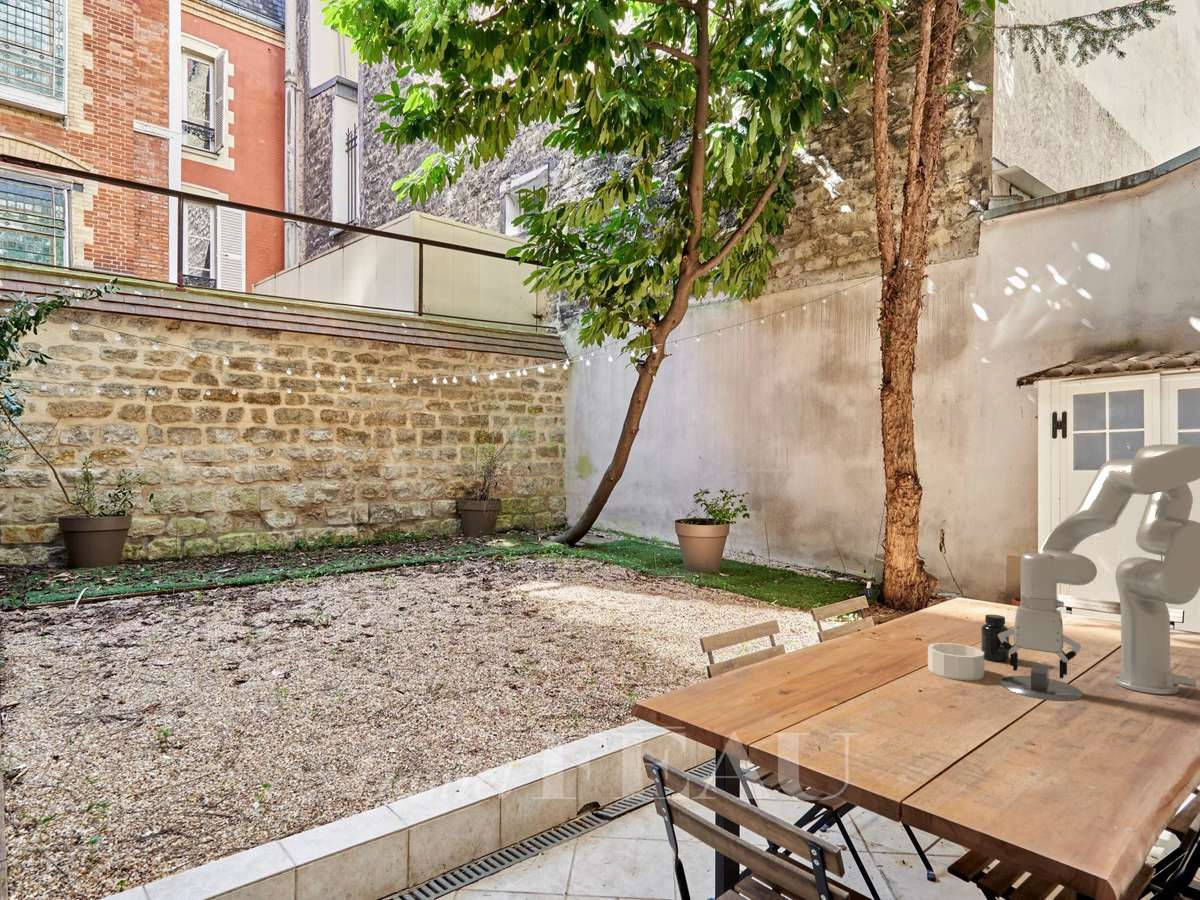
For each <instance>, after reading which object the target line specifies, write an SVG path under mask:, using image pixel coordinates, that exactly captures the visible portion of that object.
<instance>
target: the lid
mask: <svg viewBox="0 0 1200 900" xmlns="http://www.w3.org/2000/svg"><path fill="white" fill-rule="evenodd" d="M1049 672H1050V667H1049V665H1048V664H1041V663H1033V664H1032V667H1031V670H1030V675H1010V676H1005V677H1003V678H1001V679H1000V681H999V682H1000V683H999V684H1000V685H1001V687H1002V688H1004V689H1005V690H1007V691H1009V692H1011V693H1014V694H1017V695H1020V696H1023V697H1028V698H1032V699H1036V700H1037V699H1039V700H1042V701H1043V700H1045V701H1054V702H1055V701H1056V702H1057V701H1058V702H1066V701H1076V700H1079V699H1081V698H1082V697H1083V692H1082V690H1081V689H1079V688H1078V687H1077V686H1074V685H1072V684H1069V683H1067V682H1064V681H1060V680H1056V679H1051V678H1050V673H1049Z"/></svg>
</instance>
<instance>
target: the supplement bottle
mask: <svg viewBox="0 0 1200 900" xmlns="http://www.w3.org/2000/svg"><path fill="white" fill-rule="evenodd" d="M984 618H985V619H984V624H983V625H982V626H981V628H980V629H981V632H980V634H981V638H980V639H981V641H980V643H981V645H980V646H981V649H980V650H981V651H983V652H985V661H986V660H987V661H990V662H995V663H1004V662H1005V663H1006V662H1008V661H1009V660H1010V653H1009V651H1008V650H1007V649H1006V648H1005V647H1004V646H1003V645H1002V643H1001V641H1000V639H999V637H998V634H999V633H1001V632H1004V631H1007V630H1009V628H1008V627H1007V626H1006V625H1005V624H1006V618H1005V616H1002V615H999V614H986V615H985V617H984ZM1006 640H1007V641H1008V642H1009V643H1010V636H1008V637H1006Z"/></svg>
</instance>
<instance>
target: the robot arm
mask: <svg viewBox="0 0 1200 900" xmlns="http://www.w3.org/2000/svg"><path fill="white" fill-rule="evenodd" d="M1198 480H1200V446H1199V445H1196V444H1191V443H1190V444H1187V443H1184V444H1183V443H1182V444H1178V443H1177V444H1175V443H1173V444H1172V443H1171V444H1170V443H1169V444H1167V443H1165V444H1162V443H1161V444H1150V445H1149V444H1148V445H1145V446H1143V447H1141V448H1139V449H1138V450H1137V452H1136V453H1135V455H1134V458H1117V459H1116V458H1113V459H1110V460H1107V461H1105V462H1104V463H1103V464H1102V465H1101V466H1100V468H1099V469H1098V471H1097V472H1096V475H1095V476H1094V479H1093V480H1092V482H1091V483H1090V486H1089V487H1088V489H1087V492H1086V493H1085V495H1084V497H1083V499H1082V501H1081V502H1080V505H1079V506H1078V507H1077V509H1076V510H1075V511H1074V512H1072V513H1071V514H1069V515H1068V516H1067V517H1065V518H1064V519H1063V520H1062V521H1061V522H1060V523H1059V524H1058V525H1056V526H1055V527H1054V528H1053V529H1052V530H1051V531H1050V532H1049V533H1048V534H1047V537H1046V539H1045V540H1044V542H1043V544H1042V546H1041V548H1040V550H1039V551H1038V552H1025V553H1023V554H1022V555H1021V557H1020V605H1017V608H1016V611H1015V616H1014V617H1015V618H1014V628H1010V629H1008V630H1007V631H1004V632H1001V633H999V634H998V637H999V639H1000V641H1001V643H1002V645H1003V646H1004V647H1005V648H1006V649H1007V650H1008V651H1009V660H1010V661H1009V664H1010V666H1011V667H1012V669H1013V670H1012V671H1015V672H1016V671H1017V670H1018V668H1019V663H1018V662H1019V657H1018V656H1019V655H1018V654H1019V653H1018V652H1017V651H1019V650H1020V649H1025V650H1030V651H1036V652H1037V651H1038V652H1045V653H1053V654H1056V656H1057V657H1059V658H1060V659H1059V678H1060V679H1063V680H1064V675H1066V676H1067V674H1068V662H1069V661H1071V660H1072V659H1074V658H1075V657H1076V655H1077V654H1078V653H1079V652H1080V650H1081V648H1082V644H1080V643H1079V642H1077V641H1075V640H1073V639H1071V638H1070V637H1068V636H1066V634H1064V626H1063V625H1064V624H1063V618H1062V613H1061V610H1059V609H1058V608H1064V607H1065V606H1064V604H1065V602H1064V601H1060V600H1059V599H1058V595H1057V594H1058V590H1057V589H1058V585H1057V584H1062V585H1063V584H1064V585H1071V586H1085V585H1089V584H1090V583H1091V582H1094V580H1095V579H1096V577H1097V574H1098V568H1097V565H1096V564H1095V563H1094V562H1093V560H1092V559H1090V558H1089V557H1087V556H1084V555H1082V554H1077V553H1074V550H1075V548H1076V547H1078V545H1079V544H1080V543H1082V542H1083V541H1084V540H1086V539H1087V538H1089V537H1091V536H1093V535H1097V534H1100V533H1103V532H1105V531H1108V530H1110V529H1113V528H1114V527H1115V526H1117V524H1118V523H1119V520H1120V518H1121V517H1122V515H1123V513H1124V511H1125V509H1126V508H1127V505H1128V504H1129V502H1130V500H1131V498H1132V497H1133V495H1145V496H1146V495H1148V499H1147V502H1146V506H1145V509H1144V511H1143V514H1142V517H1141V520H1140V522H1139V525H1138V529H1137V531H1136V536H1135V542H1136V545H1137V547H1139V549H1140V550H1142V551H1144V552H1146V553H1148V554H1152V555H1157V556H1160V557H1164V559H1163V561H1162V560H1160V559H1159V560H1158V559H1153V558H1149V557H1143V556H1142V557H1141V556H1135V557H1129V558H1125V559H1123V560H1122V561H1121V562H1119V564H1118V566H1117V567H1116V569H1115V575H1114V576H1115V577H1114V578H1115V585H1116V588H1117V591H1118V597H1119V602H1120V603H1119V604H1120V644H1121V645H1120V650H1121V651H1120V652H1121V653H1120V654H1121V656H1120V657H1121V658H1120V659H1121V660H1120V661H1121V662H1120V663H1121V673H1118V674H1115V675H1114V677H1113V681H1114V683H1115V684H1116V685H1118V686H1121V687H1123V688H1126V689H1128V690H1132V691H1137V692H1141V693H1146V694H1154V695H1155V694H1156V695H1175V694H1178V693H1179V692H1180V686H1179V685H1181V686H1187V687H1191V688H1196V687H1197V679H1196V678H1192V677H1189V676H1187V675H1183V674H1182V675H1178V674H1176V673H1173V670H1172V668H1171V619H1170V618H1171V617H1170V612H1169V609H1168V606H1167V604H1170V605H1175V606H1176V605H1177V606H1179V605H1185V604H1188V603H1189V602H1191V601H1192V600H1193V599H1194V598H1195V597H1196V595H1197V594H1198V592H1199V590H1200V522H1199V521H1198V522H1197V520H1196V521H1195V520H1192V519H1191V520H1190V519H1189V518H1190V515H1191V511H1192V507H1193V501H1194V497H1193V492H1192V491H1191V488H1190V485H1189V483H1192V482H1195V481H1198ZM1008 636H1009V637H1011V636H1013V642H1014V644H1013V645H1012V644H1010V641H1009V642H1008V641H1007V640H1006V637H1008ZM1064 643H1065V644H1067V645H1069V646H1070V647H1071V650H1070V651H1068V652H1067V653H1066V652H1065V651H1064V649H1063V648H1064Z"/></svg>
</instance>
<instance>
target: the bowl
mask: <svg viewBox="0 0 1200 900" xmlns="http://www.w3.org/2000/svg"><path fill="white" fill-rule="evenodd" d="M985 661H986V659H985V652H983V651H981V649H980V648H979V647H978V648H977V647H974V646H971V645H967V644H961V643H960V644H959V643H954V642H937V643H936V642H935V643H931V644H929V645H928V646H927V668H928V671H929V672H930V673H932V674H934V675H936V676H939V677H942V678H946V679H950V680H956V681H977V680H978V681H979V680H982V679H983V678H984V677H985V673H986V672H985V666H986V665H985V663H986V662H985Z"/></svg>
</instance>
